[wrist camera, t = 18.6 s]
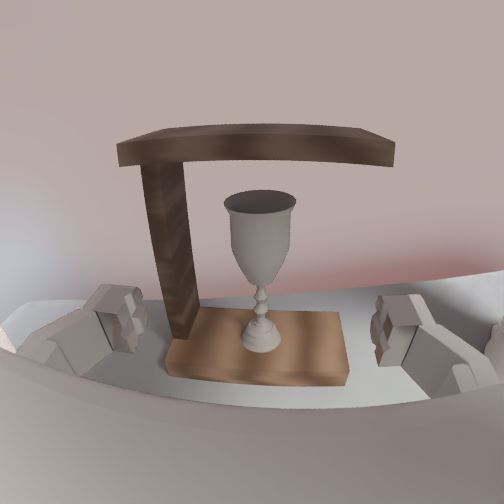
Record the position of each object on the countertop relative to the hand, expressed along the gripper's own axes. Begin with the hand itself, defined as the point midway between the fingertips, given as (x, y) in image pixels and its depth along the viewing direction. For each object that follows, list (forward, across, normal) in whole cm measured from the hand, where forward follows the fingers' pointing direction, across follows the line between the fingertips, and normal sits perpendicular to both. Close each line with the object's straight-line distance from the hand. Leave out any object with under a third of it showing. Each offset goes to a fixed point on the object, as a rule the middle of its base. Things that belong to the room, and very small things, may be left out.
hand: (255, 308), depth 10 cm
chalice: (+20, +2, +21) cm, 29 cm away
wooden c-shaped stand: (+20, +2, +24) cm, 31 cm away
